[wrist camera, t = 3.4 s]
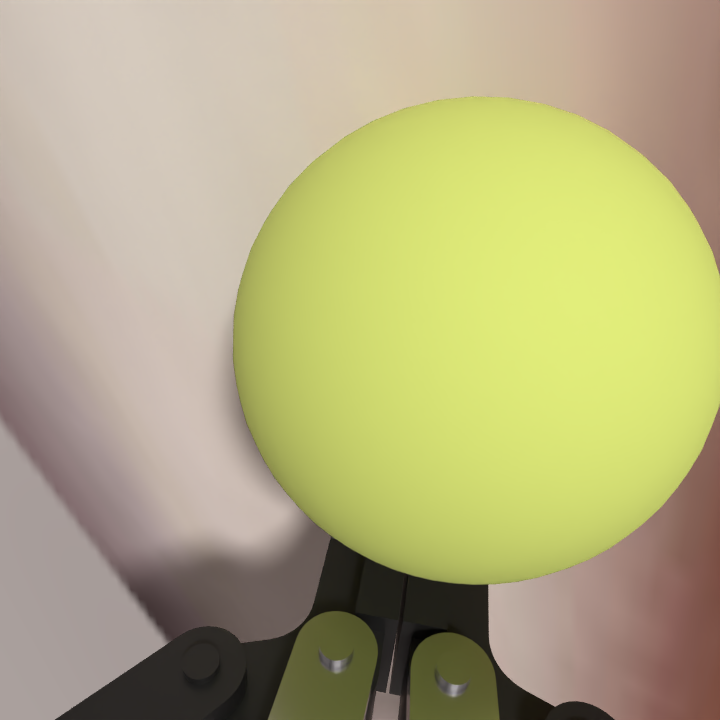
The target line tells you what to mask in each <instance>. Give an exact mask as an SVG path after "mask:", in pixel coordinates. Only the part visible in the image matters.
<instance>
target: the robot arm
mask: <svg viewBox="0 0 720 720" xmlns="http://www.w3.org/2000/svg"><path fill="white" fill-rule="evenodd" d="M396 633H397V635H396ZM395 639H396V643H395ZM394 644H395V651H394V659H393V667H392V675H391V683H390V691H389V693H390V694H395V695H400V696H401V697H400V706H399V715H398V720H614V719H613V718H612V717H611V716H610V715H609V714H607V713H606V712H604V711H603V710H601V709H600V708H597V707H595V706H593V705H591V704H588V703H584V702H578V701H573V702H566V703H562V704H560V705H558V706H556V707H554V706H552V705H551V704H549V703H547V702H545V701H543V700H542V699H540V698H538V697H536V696H534V695H532V694H531V693H529V692H527V691H525V690H524V689H522V688H520V687H519V686H517V685H516V684H515V683H514V682H512V681H511V680H510V679H509V678H508V677H507V676H506V675H505V674H504V673H503V671H502V670H501V669H500V667H499V666H498V664H497V663H496V661H495V659H494V657H493V654H492V652H491V648H490V644H489V620H488V584H480V585H472V584H456V583H448V582H441V581H434V580H429V579H425V578H420V577H416V576H412V575H409V574H406V573H403V572H400V571H396V570H393V569H391V568H389V567H386V566H384V565H381V564H379V563H377V562H374V561H372V560H371V559H369V558H367V557H365V556H363V555H361V554H359V553H357V552H356V551H354V550H352V549H350V548H349V547H347V546H346V545H344V544H343V543H341V542H340V541H338V540H336V539H335V538H333V537H332V536H331V540H330V543H329V547H328V550H327V554H326V558H325V562H324V566H323V570H322V574H321V578H320V582H319V586H318V589H317V593H316V597H315V601H314V604H313V607H312V610H311V612H310V614H309V615H308V617H307V618H306V619H305V621H304V622H303V623H302V624H301V625H300V626H299V627H298V628H296V629H295V630H293V631H292V632H290V633H288V634H286V635H284V636H281V637H278V638H274V639H270V640H262V641H255V642H247V643H240V641H239V640H238V639H237V638H236V637H235V635H233V634H232V633H230V632H229V631H227V630H225V629H222V628H218V627H211V626H207V627H199V628H195V629H192V630H190V631H187V632H185V633H184V634H182V635H180V636H179V637H177V638H176V639H174V640H173V641H171V642H170V643H168V644H167V645H165V646H164V647H162V648H161V649H159V650H158V651H157V652H155V653H153V654H152V655H151V656H149V657H148V658H146V659H144V660H143V661H142V662H140V663H139V664H137V665H136V666H134V667H133V668H131V669H130V670H128V671H127V672H125V673H124V674H122V675H121V676H119V677H118V678H116V679H115V680H113V681H112V682H110V683H109V684H107V685H106V686H104V687H103V688H101V689H100V690H98V691H97V692H96V693H94V694H92V695H91V696H89V697H88V698H86V699H85V700H84V701H82V702H81V703H79V704H78V705H76V706H75V707H73V708H72V709H70V710H69V711H67V712H66V713H64V714H63V715H61V716H60V717H58V718H57V719H55V720H371V719H372V713H373V707H374V701H375V695H376V691H379V692H384V693H386V688H387V682H388V677H389V671H390V666H391V660H392V655H393V650H394Z"/></svg>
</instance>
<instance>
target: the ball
mask: <svg viewBox="0 0 720 720" xmlns="http://www.w3.org/2000/svg"><path fill="white" fill-rule="evenodd" d="M233 363H234V370H235V378H236V384H237V389H238V393H239V398H240V402H241V405H242V409H243V412H244V416H245V419H246V423H247V425H248V428H249V430H250V432H251V434H252V437H253V439H254V441H255V443H256V445H257V447H258V449H259V451H260V453H261V456H262V458H263V460H264V461H265V463H266V464H267V466H268V468H269V469H270V471H271V473H272V474H273V476H274V478H275V479H276V480H277V482H278V483H279V484H280V485H281V487H282V488H283V489H284V490H285V492H286V493H287V494H288V495H289V497H290V498H291V499H292V500H293V501H294V502H295V503H296V505H297V506H298V507H299V508H300V509H301V510H302V511H303V512H304V513H305V514H306V515H307V516H308V517H309V518H310V519H311V520H312V521H313V522H314V523H315V524H317V525H318V526H319V527H320V528H322V529H323V530H324V531H325V532H327V533H328V534H329V535H330V536H332V537H333V538H335V539H336V540H338V541H340V542H341V543H343V544H344V545H346V546H347V547H349V548H350V549H352V550H354V551H356V552H357V553H359V554H361V555H363V556H365V557H367V558H369V559H371V560H372V561H374V562H377V563H379V564H381V565H384V566H386V567H389V568H391V569H393V570H396V571H400V572H403V573H406V574H409V575H412V576H416V577H420V578H425V579H429V580H434V581H441V582H448V583H456V584H472V585H480V584H501V583H511V582H518V581H523V580H528V579H533V578H538V577H541V576H544V575H548V574H551V573H554V572H558V571H561V570H564V569H567V568H569V567H572V566H574V565H577V564H579V563H582V562H584V561H586V560H589V559H591V558H593V557H595V556H596V555H598V554H600V553H602V552H604V551H606V550H607V549H609V548H611V547H612V546H614V545H615V544H617V543H618V542H619V541H621V540H622V539H624V538H625V537H626V536H628V535H629V534H630V533H632V532H633V531H634V530H636V529H637V528H638V527H640V526H641V525H642V524H643V523H644V522H645V521H647V520H648V519H649V518H650V517H651V516H652V515H653V514H654V513H655V512H656V511H658V510H659V509H660V508H661V507H662V505H663V504H664V503H665V502H666V501H667V499H668V498H669V497H670V496H671V495H672V493H673V492H674V491H675V490H676V489H677V487H678V486H679V484H680V483H681V482H682V480H683V479H684V478H685V476H686V475H687V473H688V472H689V470H690V469H691V467H692V465H693V464H694V462H695V460H696V459H697V457H698V456H699V454H700V452H701V451H702V448H703V446H704V443H705V441H706V439H707V436H708V434H709V431H710V429H711V427H712V424H713V421H714V419H715V416H716V413H717V411H718V408H719V404H720V275H719V272H718V269H717V265H716V262H715V259H714V256H713V252H712V250H711V248H710V246H709V244H708V242H707V240H706V238H705V236H704V234H703V232H702V230H701V228H700V226H699V224H698V222H697V220H696V219H695V217H694V215H693V213H692V212H691V210H690V208H689V207H688V205H687V204H686V203H685V201H684V200H683V199H682V197H681V196H680V194H679V193H678V192H677V190H676V189H675V188H674V186H673V185H672V184H671V182H670V181H669V180H668V179H667V178H666V177H665V176H664V175H663V174H662V173H661V172H660V171H659V170H658V169H657V168H656V167H655V166H654V165H653V164H652V163H651V162H650V161H648V160H647V159H646V158H645V157H644V156H643V155H642V154H640V153H639V152H638V151H637V150H635V149H634V148H632V147H631V146H630V145H628V144H627V143H625V142H624V141H622V140H621V139H620V138H618V137H617V136H615V135H614V134H613V133H611V132H610V131H608V130H606V129H604V128H602V127H600V126H598V125H596V124H594V123H592V122H590V121H588V120H586V119H584V118H582V117H580V116H578V115H576V114H573V113H570V112H567V111H564V110H561V109H558V108H555V107H552V106H549V105H545V104H541V103H536V102H530V101H524V100H519V99H513V98H501V97H464V98H454V99H445V100H437V101H433V102H428V103H424V104H420V105H416V106H412V107H408V108H404V109H402V110H399V111H397V112H394V113H392V114H389V115H387V116H384V117H381V118H379V119H376V120H374V121H372V122H370V123H368V124H367V125H365V126H363V127H361V128H360V129H358V130H356V131H354V132H353V133H351V134H349V135H347V136H346V137H344V138H343V139H341V140H340V141H339V142H338V143H336V144H335V145H334V146H332V147H331V148H330V149H328V150H327V151H326V152H325V153H323V154H322V155H321V156H319V157H318V158H317V159H316V160H314V161H313V162H312V163H311V164H310V165H309V166H308V167H307V168H306V169H305V170H304V171H303V172H302V173H301V174H300V175H299V176H298V177H297V178H296V179H295V180H294V181H293V182H292V183H291V184H290V186H289V187H288V188H287V190H286V191H285V192H284V194H283V195H282V197H281V198H280V199H279V201H278V202H277V204H276V205H275V206H274V208H273V209H272V211H271V212H270V214H269V216H268V217H267V219H266V221H265V222H264V224H263V226H262V228H261V230H260V232H259V234H258V236H257V238H256V240H255V242H254V244H253V246H252V248H251V250H250V253H249V256H248V259H247V262H246V265H245V269H244V272H243V275H242V278H241V282H240V285H239V289H238V294H237V300H236V306H235V312H234V329H233Z"/></svg>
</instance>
